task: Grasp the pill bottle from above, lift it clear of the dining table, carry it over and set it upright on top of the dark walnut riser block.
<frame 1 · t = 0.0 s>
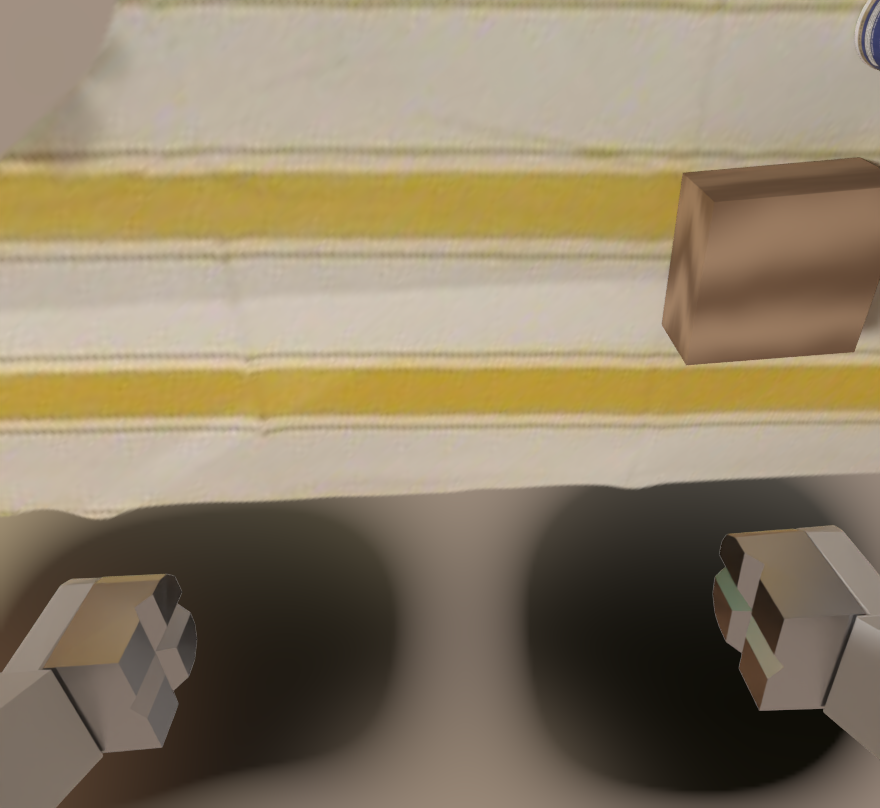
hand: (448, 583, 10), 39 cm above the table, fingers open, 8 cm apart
walnut riser: (752, 247, 48), on the table
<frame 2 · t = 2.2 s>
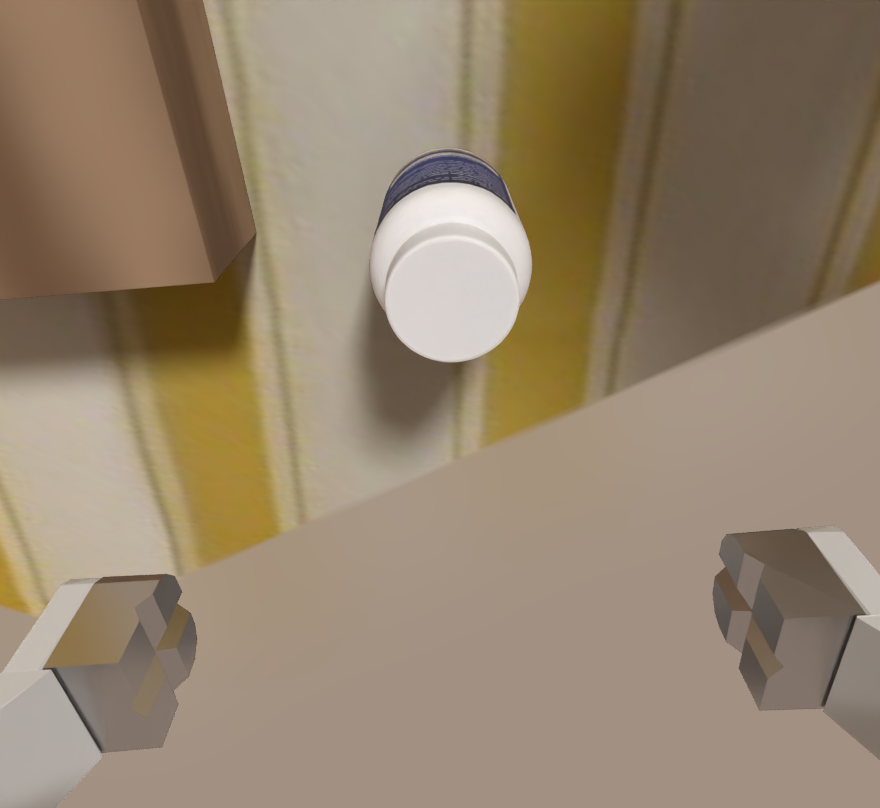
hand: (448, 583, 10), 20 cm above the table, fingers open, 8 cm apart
walnut riser: (65, 89, 24), on the table
pill bottle: (447, 213, 27), on the table
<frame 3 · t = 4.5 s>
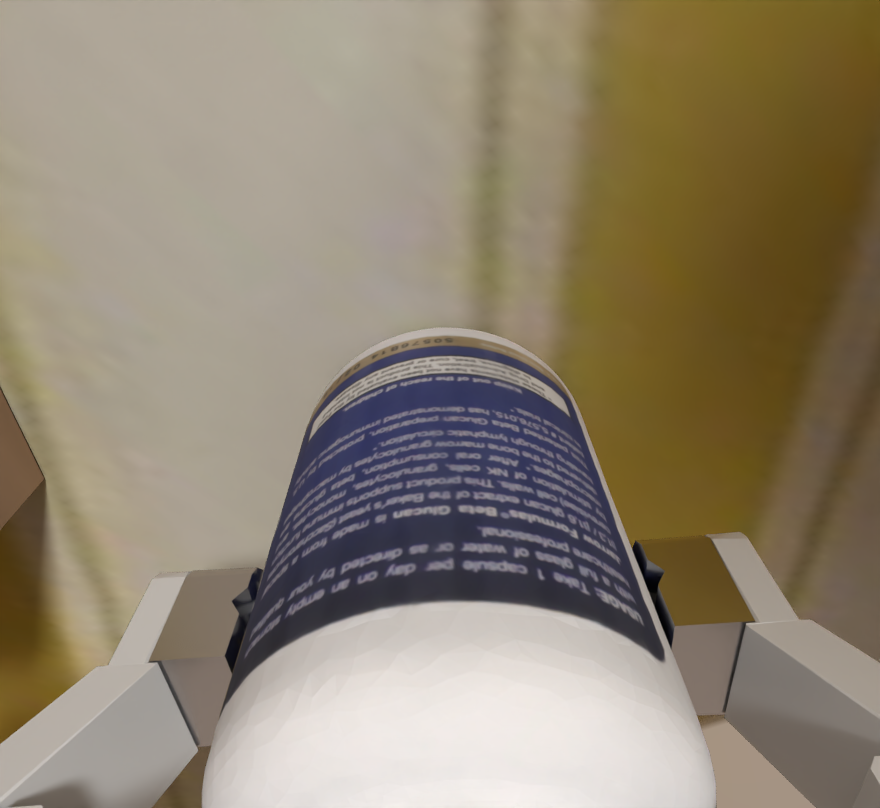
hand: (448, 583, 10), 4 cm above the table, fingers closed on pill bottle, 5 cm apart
pill bottle: (444, 439, 13), on the table, touching gripper
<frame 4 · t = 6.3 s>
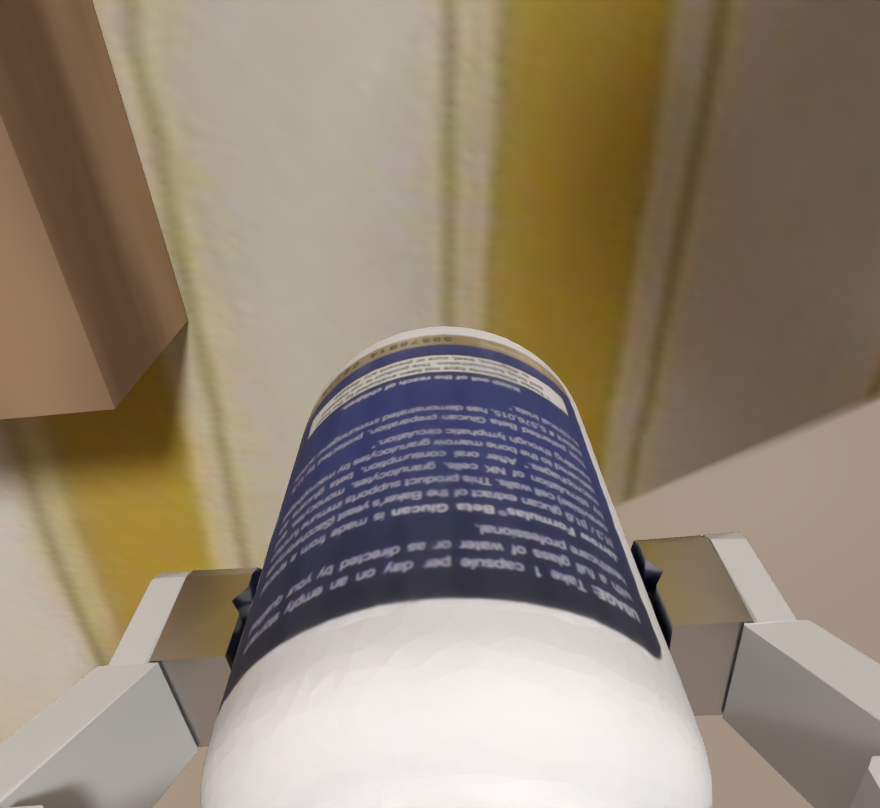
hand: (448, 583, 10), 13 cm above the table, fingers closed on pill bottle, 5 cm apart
pill bottle: (443, 438, 13), point 10 cm above the table, touching gripper
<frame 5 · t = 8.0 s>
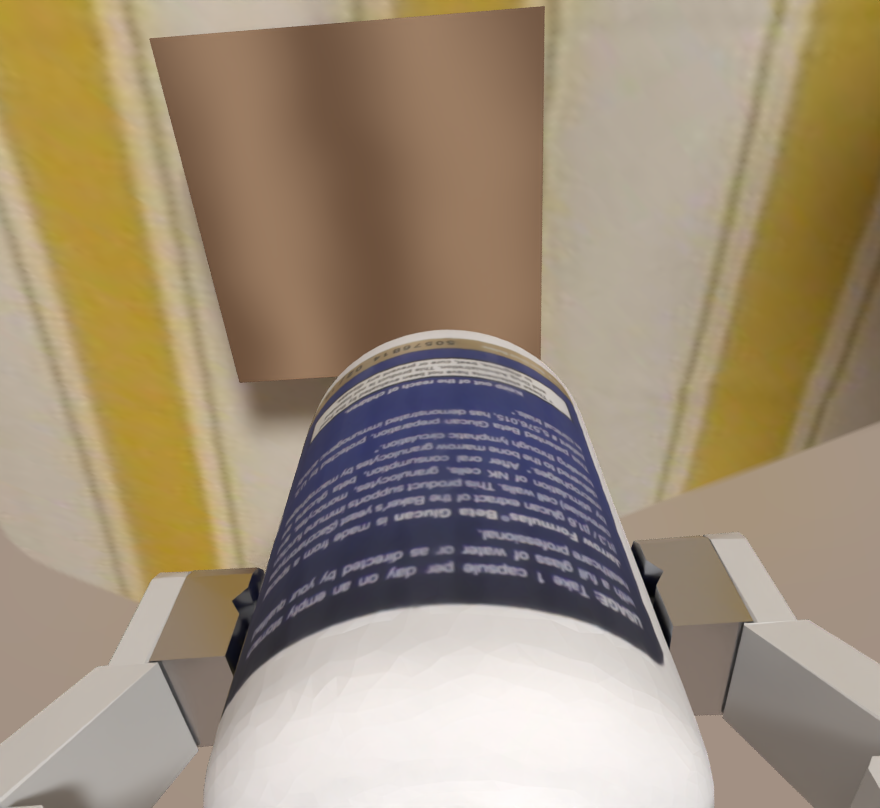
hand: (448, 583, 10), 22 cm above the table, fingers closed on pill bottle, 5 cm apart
walnut riser: (382, 184, 28), on the table
pill bottle: (446, 441, 13), point 18 cm above the table, touching gripper
when the fingers open (11 cm above the table, at t = 11.0 s): pill bottle drops 1 cm, resting on walnut riser.
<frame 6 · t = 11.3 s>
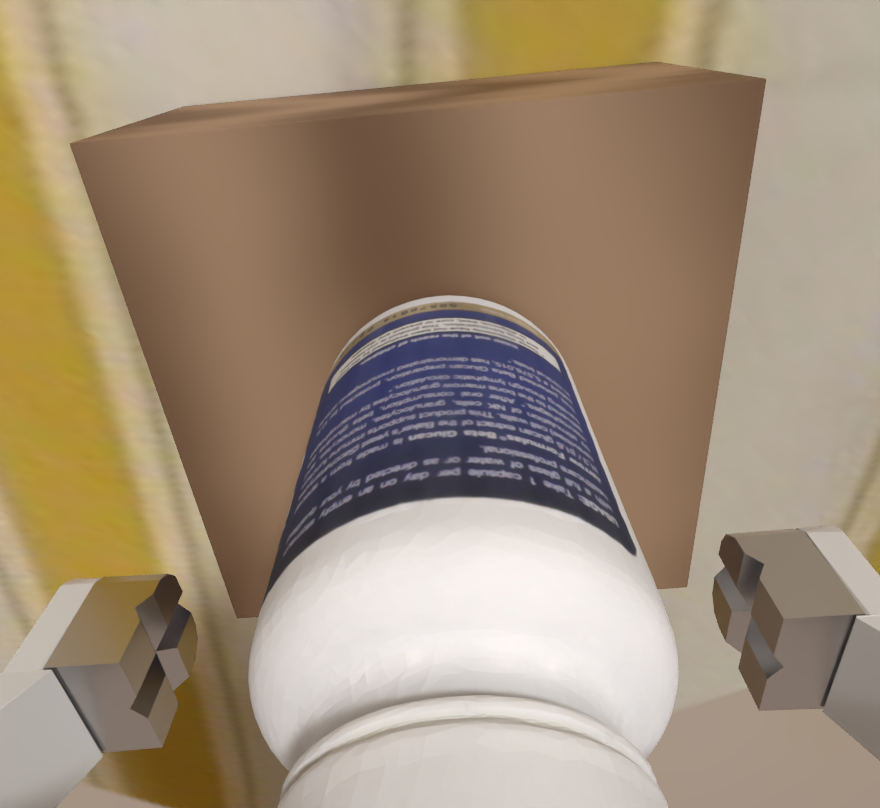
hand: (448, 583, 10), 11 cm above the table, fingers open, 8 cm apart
walnut riser: (438, 307, 19), on the table
pill bottle: (447, 401, 14), point 6 cm above the table, touching walnut riser
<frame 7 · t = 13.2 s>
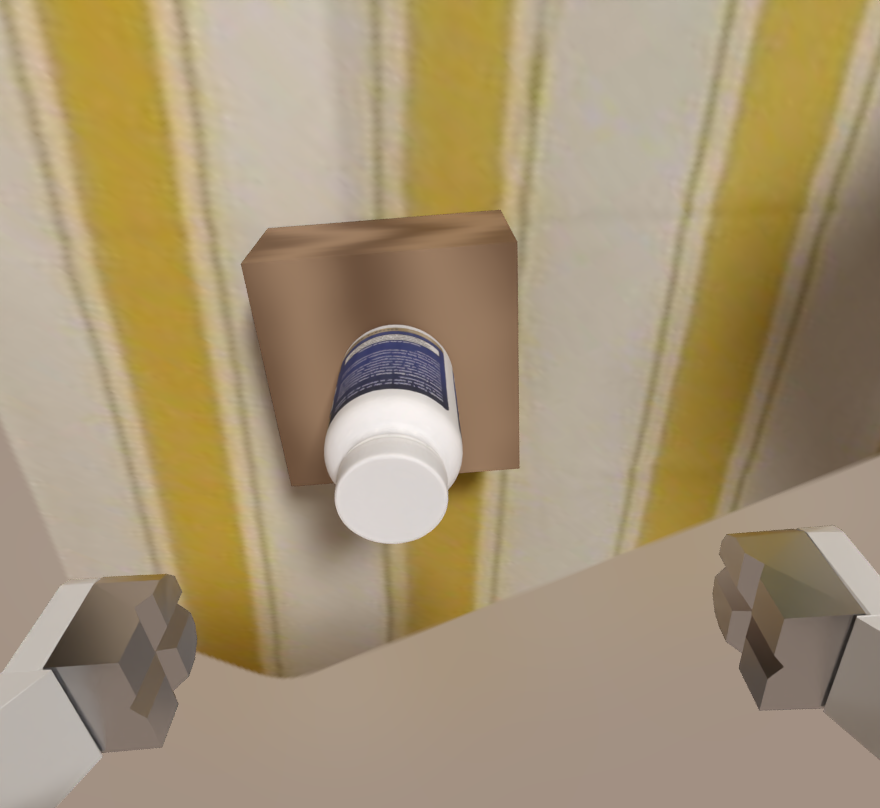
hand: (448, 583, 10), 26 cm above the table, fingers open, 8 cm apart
walnut riser: (396, 327, 36), on the table
pill bottle: (396, 372, 31), point 6 cm above the table, touching walnut riser
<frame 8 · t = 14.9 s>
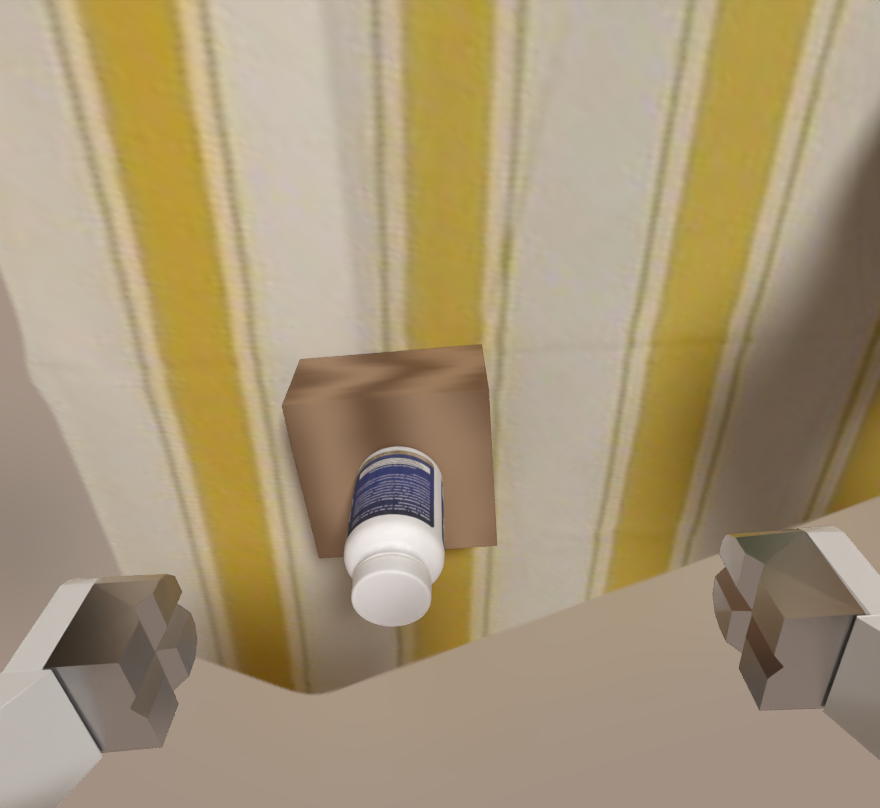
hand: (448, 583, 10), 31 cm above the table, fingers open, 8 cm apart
walnut riser: (401, 428, 45), on the table
pill bottle: (399, 477, 40), point 6 cm above the table, touching walnut riser
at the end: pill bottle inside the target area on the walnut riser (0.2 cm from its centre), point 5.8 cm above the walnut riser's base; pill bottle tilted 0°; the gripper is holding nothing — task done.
